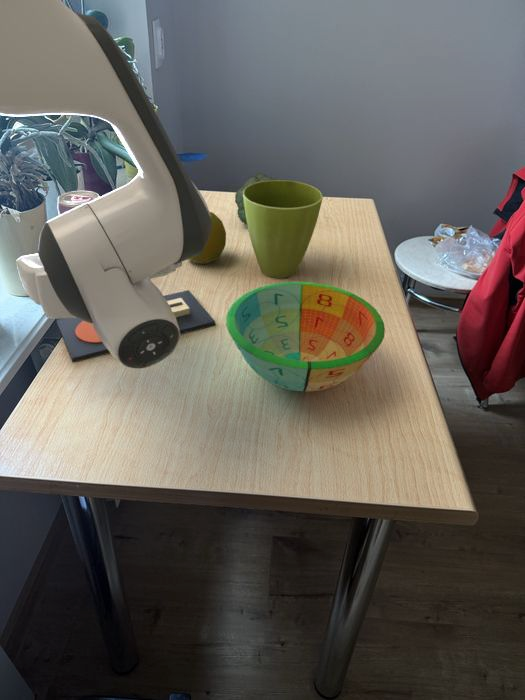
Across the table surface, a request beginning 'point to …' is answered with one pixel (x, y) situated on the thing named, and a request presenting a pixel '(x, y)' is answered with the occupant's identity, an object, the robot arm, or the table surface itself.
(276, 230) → the flower pot
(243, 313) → the bowl
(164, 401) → the table surface
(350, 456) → the table surface
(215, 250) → the apple
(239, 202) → the vegetable
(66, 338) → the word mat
